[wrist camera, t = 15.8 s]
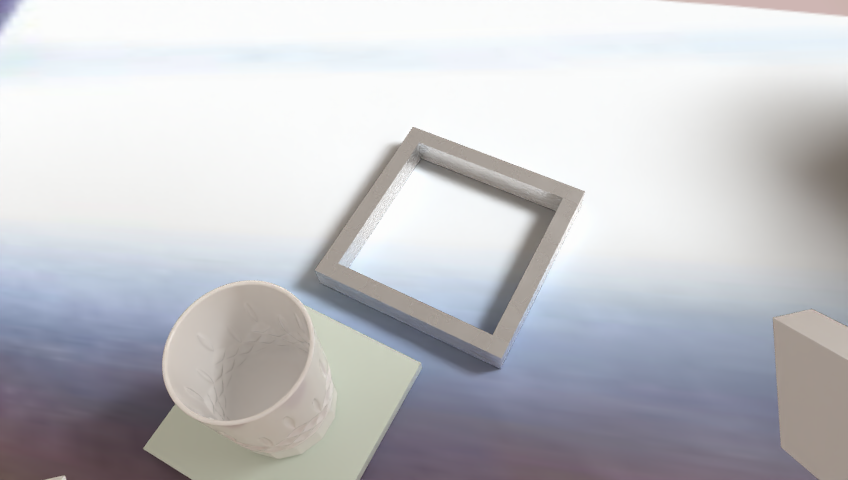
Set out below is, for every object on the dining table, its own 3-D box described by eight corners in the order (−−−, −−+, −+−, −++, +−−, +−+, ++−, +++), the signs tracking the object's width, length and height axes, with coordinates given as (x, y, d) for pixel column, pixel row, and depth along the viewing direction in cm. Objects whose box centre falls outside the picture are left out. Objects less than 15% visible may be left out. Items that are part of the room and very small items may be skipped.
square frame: (415, 142, 54) (413, 126, 52) (581, 206, 50) (584, 191, 48) (320, 283, 48) (314, 270, 46) (500, 369, 43) (501, 358, 42)
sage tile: (265, 290, 48) (261, 284, 47) (421, 367, 44) (421, 362, 43) (149, 452, 42) (142, 448, 41) (316, 557, 38) (313, 555, 38)
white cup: (340, 470, 40) (303, 426, 31) (214, 468, 40) (144, 424, 32) (352, 348, 44) (322, 279, 35) (237, 347, 44) (180, 280, 36)
